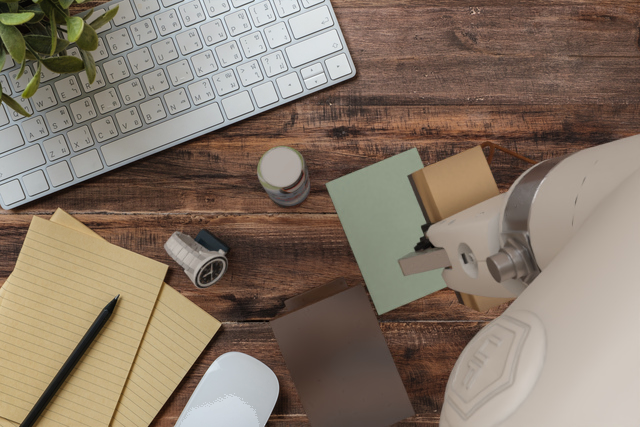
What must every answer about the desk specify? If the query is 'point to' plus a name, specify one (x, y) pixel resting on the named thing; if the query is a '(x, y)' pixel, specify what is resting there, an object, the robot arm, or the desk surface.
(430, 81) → the desk surface
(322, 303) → the pedestal
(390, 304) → the mat
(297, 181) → the beverage can
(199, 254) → the watch
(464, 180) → the tan wooden block
